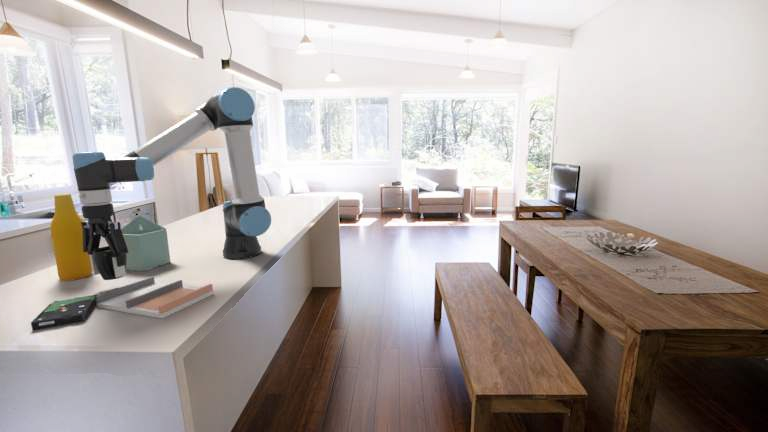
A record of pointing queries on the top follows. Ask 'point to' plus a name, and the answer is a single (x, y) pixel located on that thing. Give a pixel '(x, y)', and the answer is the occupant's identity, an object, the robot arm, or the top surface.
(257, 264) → the top surface
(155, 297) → the slot rack
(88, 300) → the disk drive
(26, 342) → the top surface
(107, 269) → the mug
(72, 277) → the beer bottle
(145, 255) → the planter
